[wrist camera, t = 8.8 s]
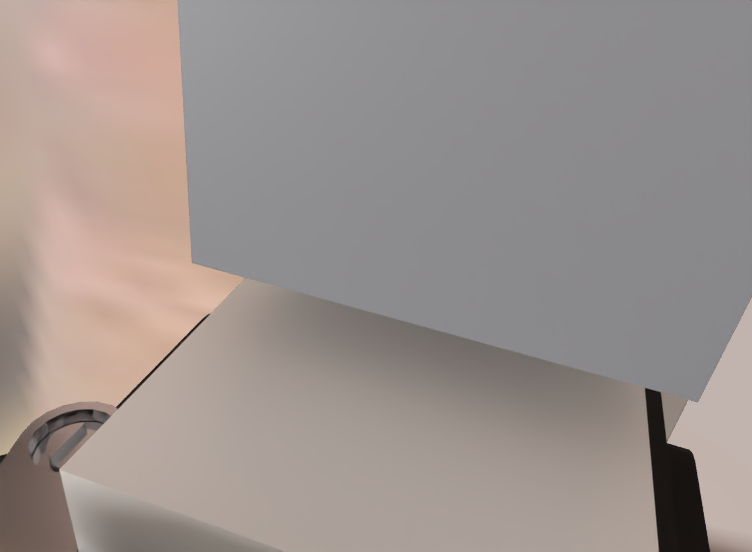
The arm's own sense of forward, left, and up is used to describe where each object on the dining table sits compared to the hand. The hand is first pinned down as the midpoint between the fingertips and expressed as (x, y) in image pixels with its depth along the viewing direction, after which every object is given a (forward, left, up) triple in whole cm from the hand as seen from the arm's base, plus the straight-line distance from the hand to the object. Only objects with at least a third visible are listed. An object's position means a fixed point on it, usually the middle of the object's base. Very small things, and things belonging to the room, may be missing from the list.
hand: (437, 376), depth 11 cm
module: (0, 0, 0) cm, 0 cm away
